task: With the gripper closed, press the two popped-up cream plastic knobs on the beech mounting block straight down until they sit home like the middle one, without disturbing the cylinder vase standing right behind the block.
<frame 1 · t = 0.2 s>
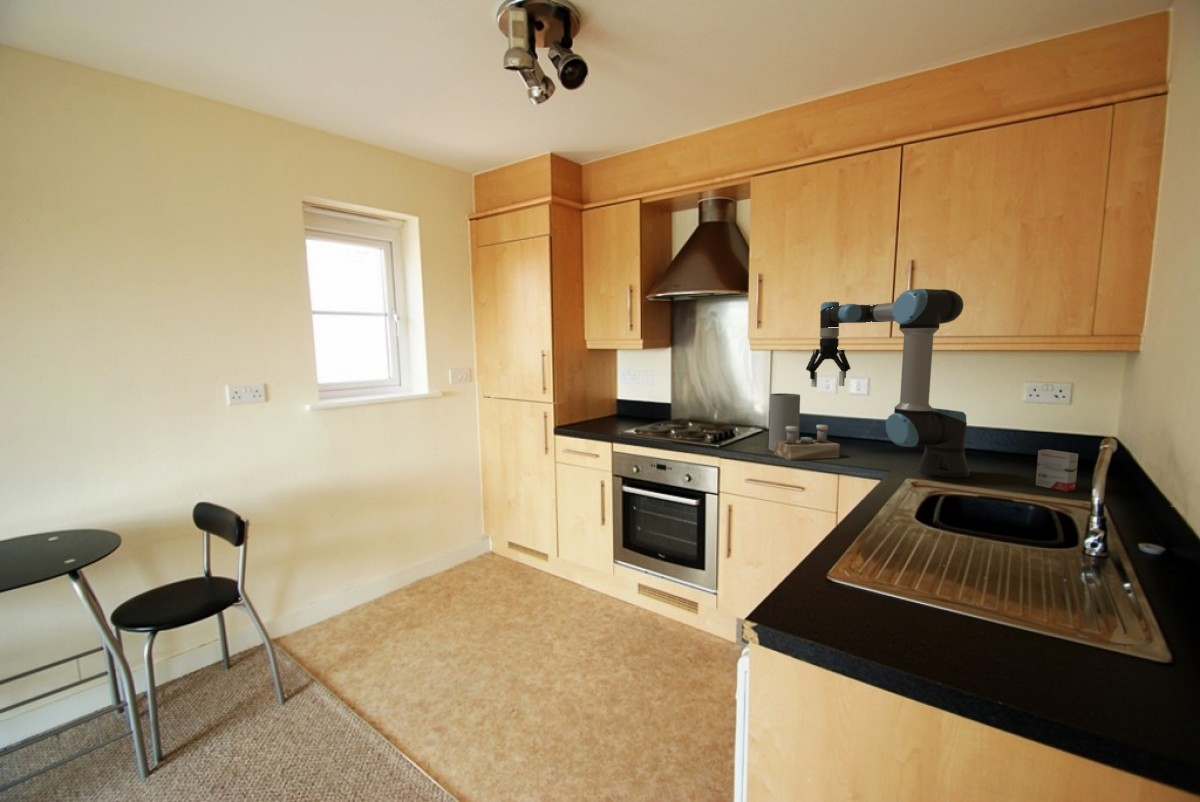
hand: (827, 386, 223), 28 cm above the counter, fingers open, 13 cm apart
cylinder vase: (783, 451, 224), on the counter
mount: (806, 456, 211), on the counter
knob left: (791, 435, 209), point 9 cm above the counter, slide at 5.0 cm
ink box: (1055, 488, 162), on the counter
knob middle: (806, 446, 211), point 4 cm above the counter, slide at 0.0 cm
knob right: (821, 434, 211), point 9 cm above the counter, slide at 5.0 cm
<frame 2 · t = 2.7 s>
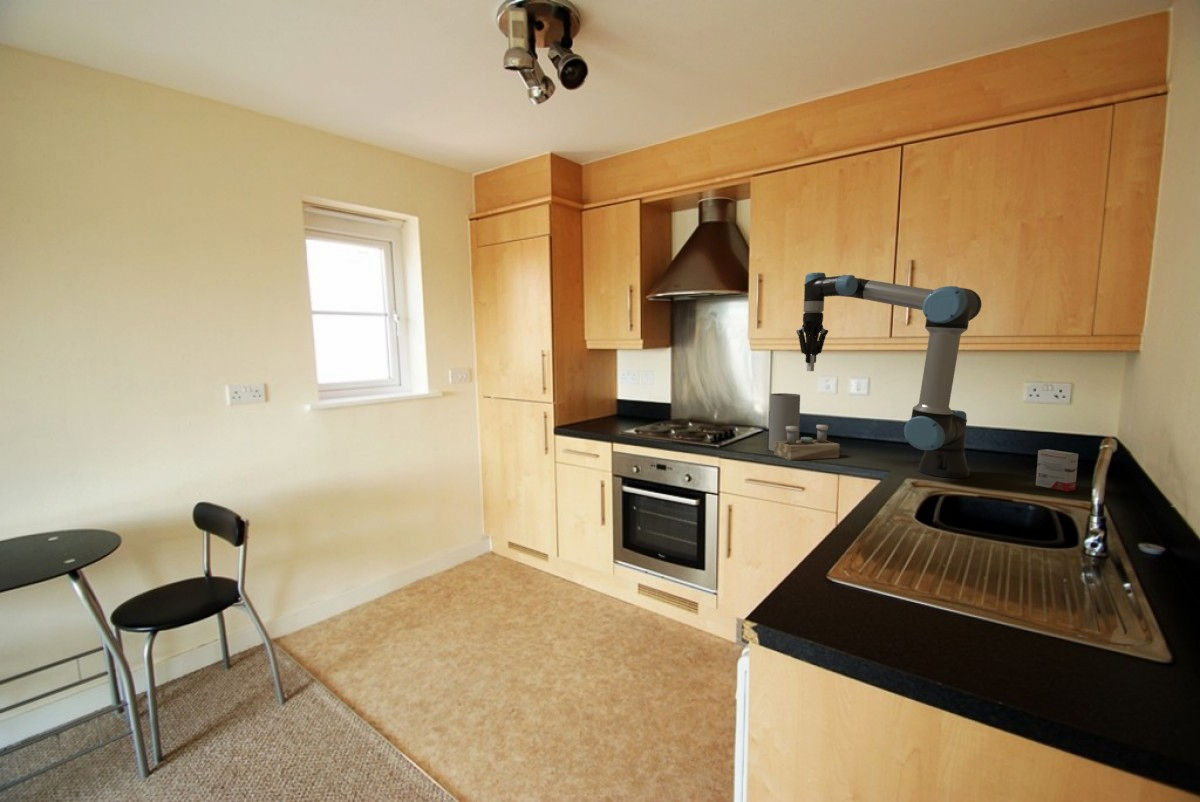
hand: (810, 371, 206), 36 cm above the counter, fingers closed
nothing on the counter moved.
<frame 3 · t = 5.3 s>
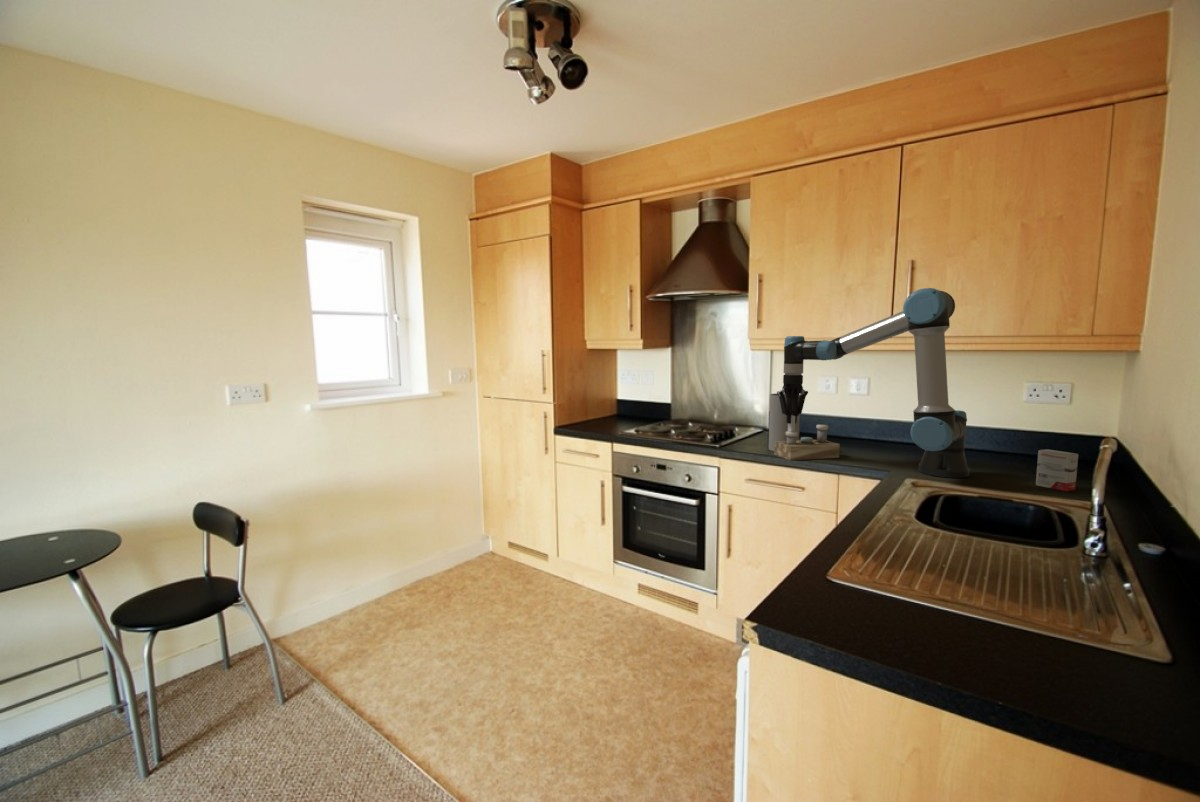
hand: (791, 431, 209), 11 cm above the counter, fingers closed
knob left: (791, 440, 209), point 7 cm above the counter, slide at 2.8 cm, touching gripper
everything else where it was.
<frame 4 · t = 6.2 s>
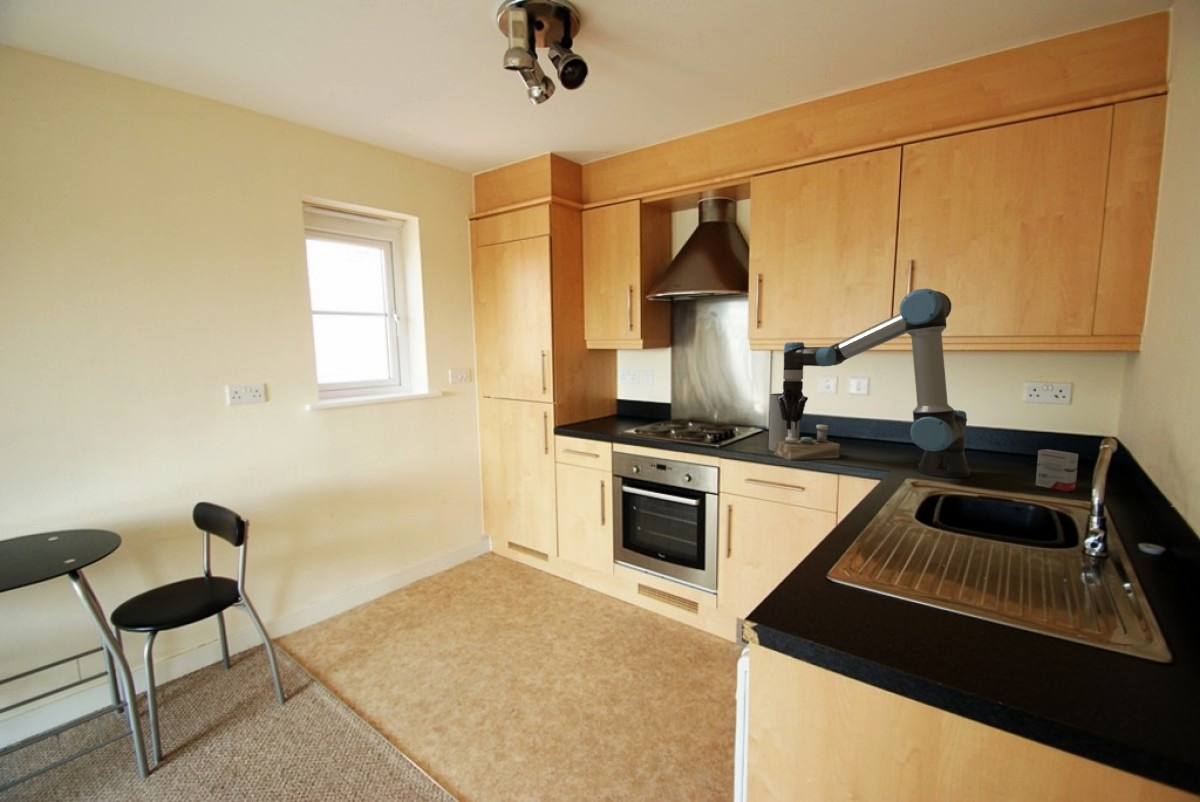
hand: (791, 437, 209), 9 cm above the counter, fingers closed
knob left: (791, 446, 209), point 5 cm above the counter, slide at 0.4 cm, touching gripper
everything else where it was.
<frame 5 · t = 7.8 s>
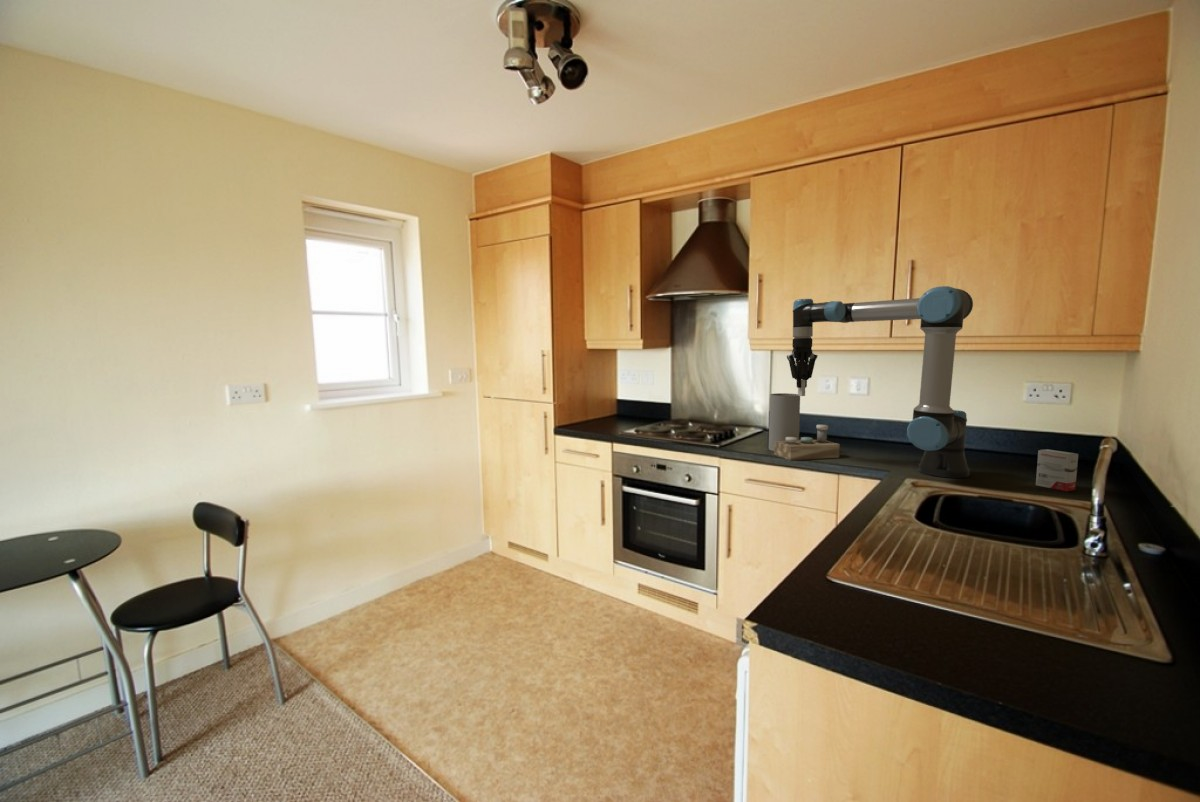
hand: (801, 395, 207), 26 cm above the counter, fingers closed
knob left: (791, 446, 209), point 5 cm above the counter, slide at 0.4 cm
everything else where it was.
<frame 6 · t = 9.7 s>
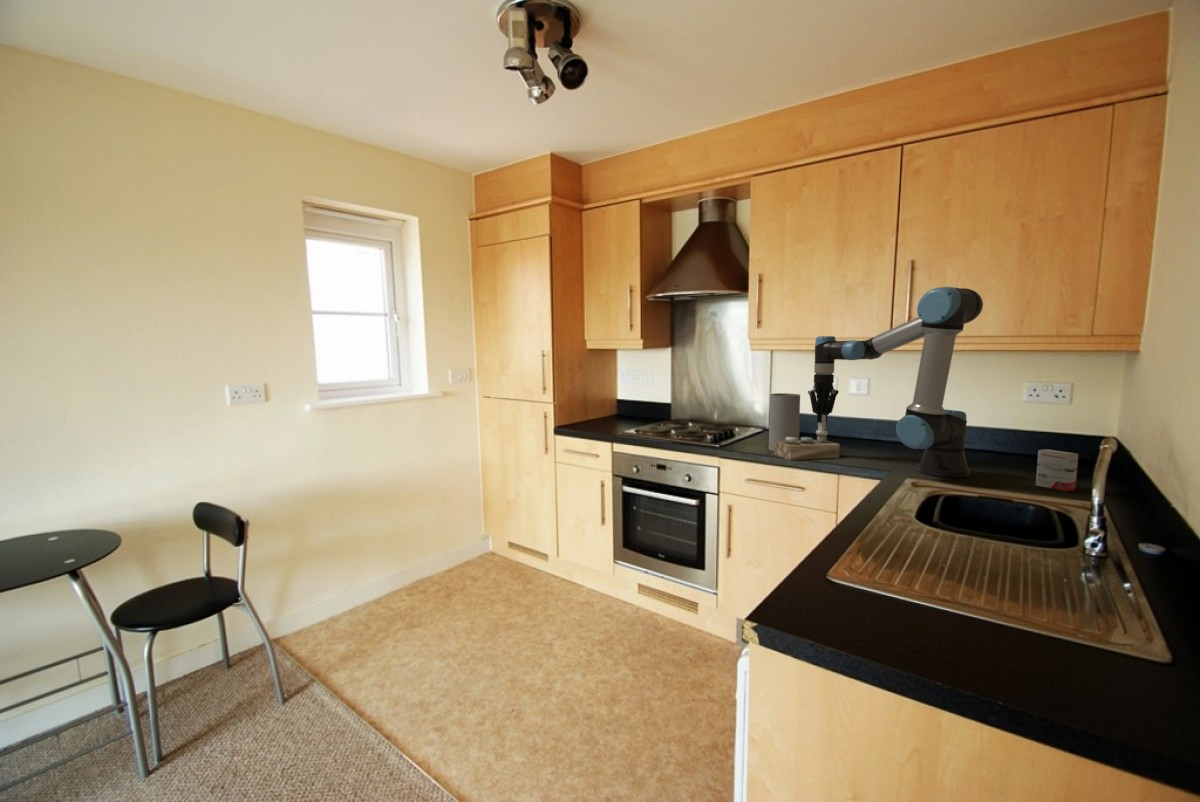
hand: (821, 430, 211), 11 cm above the counter, fingers closed
knob right: (821, 439, 212), point 7 cm above the counter, slide at 2.7 cm, touching gripper
everything else where it was.
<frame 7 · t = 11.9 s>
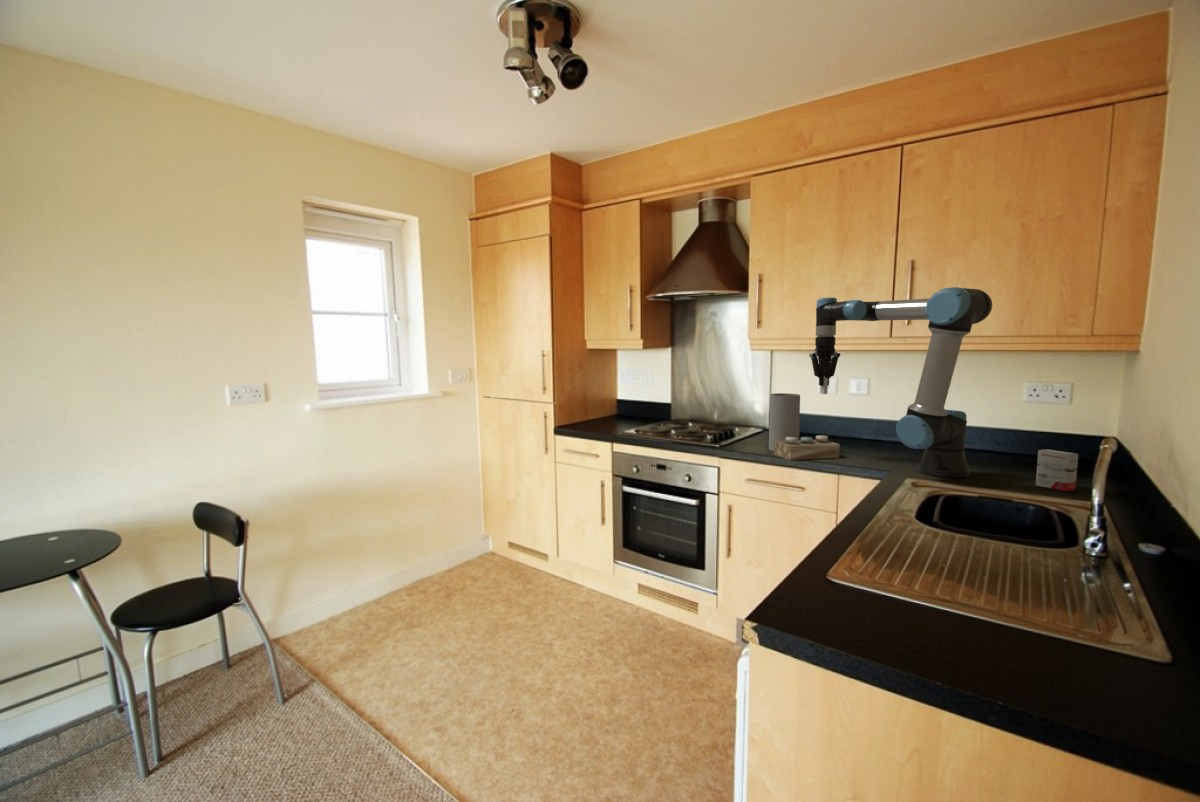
hand: (823, 393, 210), 26 cm above the counter, fingers closed
knob right: (821, 445, 212), point 5 cm above the counter, slide at 0.4 cm
everything else where it was.
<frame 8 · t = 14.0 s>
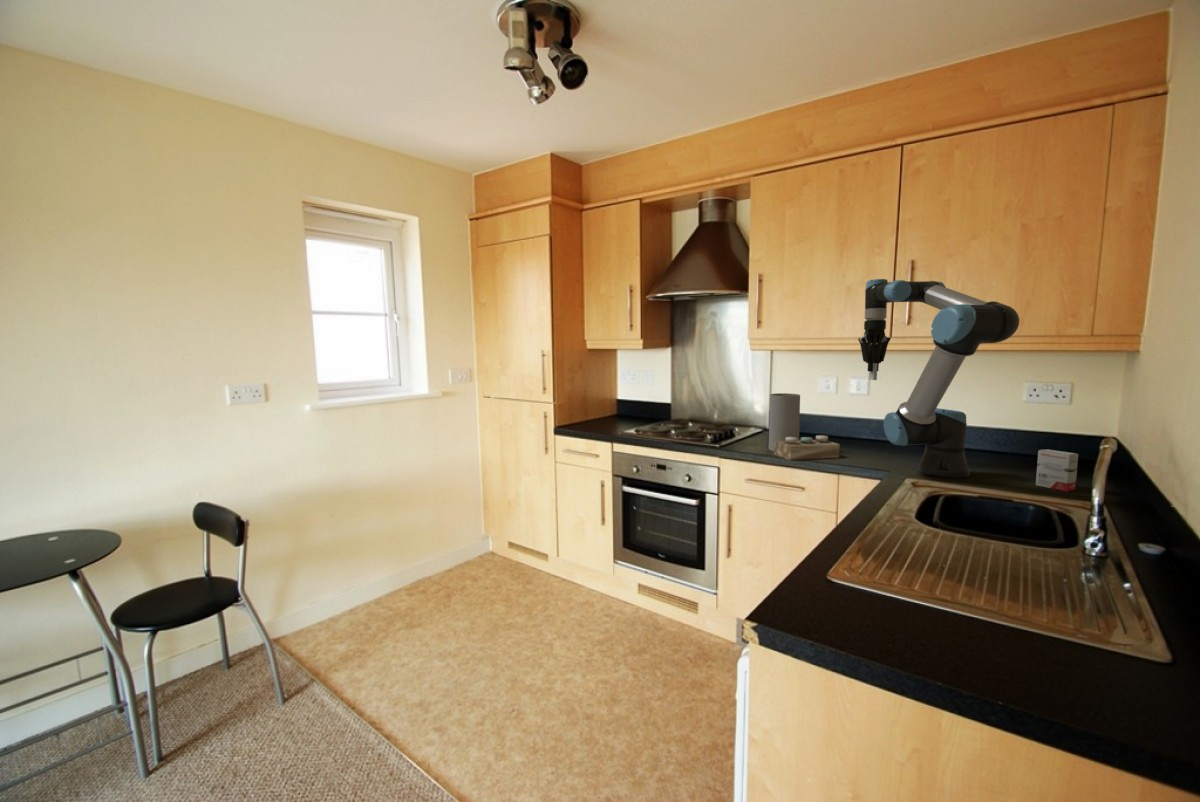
hand: (872, 379, 201), 32 cm above the counter, fingers closed
nothing on the counter moved.
at the end: knob left slide at 0.4 cm; knob right slide at 0.4 cm; cylinder vase tilted 0° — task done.
